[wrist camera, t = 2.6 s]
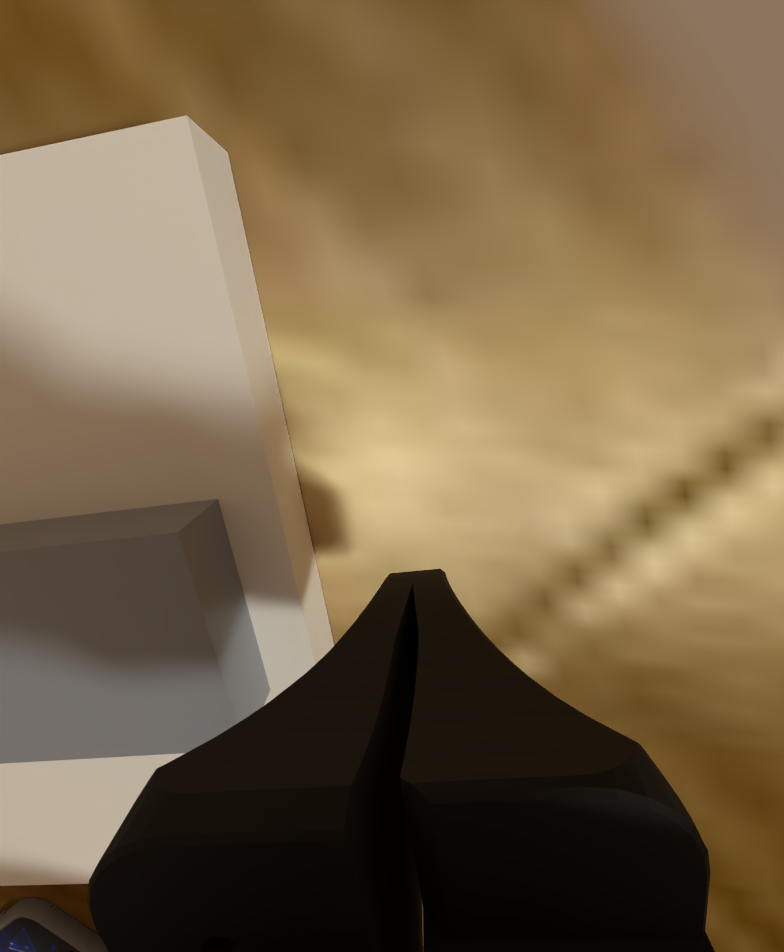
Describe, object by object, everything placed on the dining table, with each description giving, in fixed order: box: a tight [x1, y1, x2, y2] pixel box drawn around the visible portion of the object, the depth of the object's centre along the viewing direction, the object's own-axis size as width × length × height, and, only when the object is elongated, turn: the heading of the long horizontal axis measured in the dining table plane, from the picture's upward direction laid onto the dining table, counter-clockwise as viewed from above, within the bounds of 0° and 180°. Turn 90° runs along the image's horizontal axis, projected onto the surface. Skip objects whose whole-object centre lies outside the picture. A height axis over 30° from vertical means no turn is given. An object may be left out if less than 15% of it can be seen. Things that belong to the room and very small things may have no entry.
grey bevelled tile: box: [0, 499, 270, 764], centre depth 12 cm, size 6×9×2 cm, turn 98°
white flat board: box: [0, 116, 334, 886], centre depth 14 cm, size 22×14×2 cm, turn 8°
